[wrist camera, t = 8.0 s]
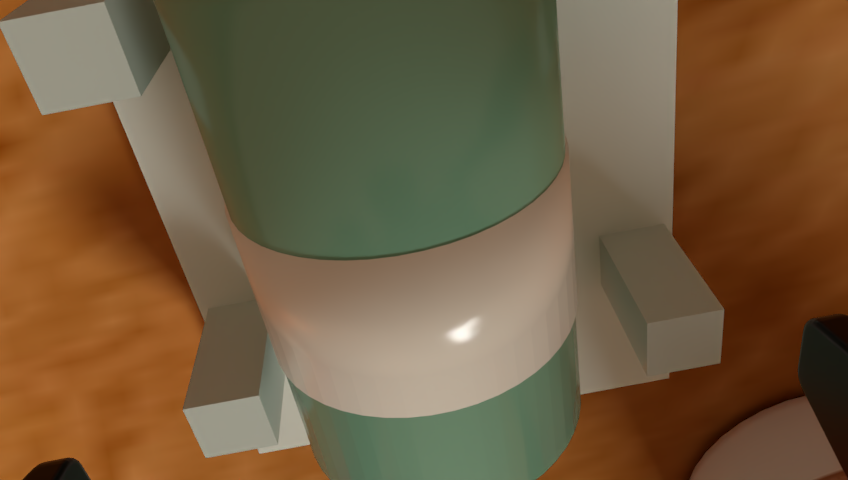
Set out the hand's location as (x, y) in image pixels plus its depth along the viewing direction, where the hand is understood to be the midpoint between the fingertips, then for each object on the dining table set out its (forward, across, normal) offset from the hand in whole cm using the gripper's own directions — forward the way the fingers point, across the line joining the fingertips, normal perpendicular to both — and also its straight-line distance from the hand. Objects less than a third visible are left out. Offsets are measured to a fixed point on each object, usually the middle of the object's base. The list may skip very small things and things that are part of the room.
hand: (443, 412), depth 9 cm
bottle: (+7, 0, -3) cm, 8 cm away
